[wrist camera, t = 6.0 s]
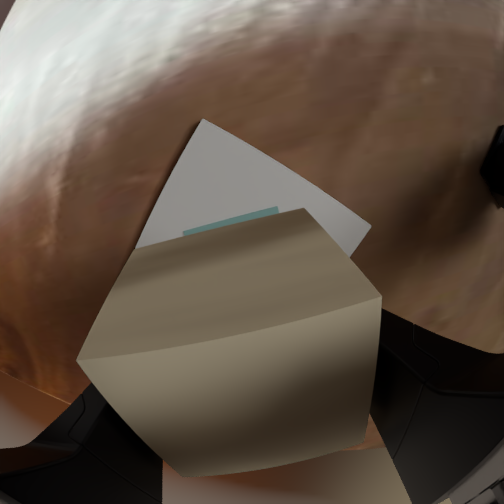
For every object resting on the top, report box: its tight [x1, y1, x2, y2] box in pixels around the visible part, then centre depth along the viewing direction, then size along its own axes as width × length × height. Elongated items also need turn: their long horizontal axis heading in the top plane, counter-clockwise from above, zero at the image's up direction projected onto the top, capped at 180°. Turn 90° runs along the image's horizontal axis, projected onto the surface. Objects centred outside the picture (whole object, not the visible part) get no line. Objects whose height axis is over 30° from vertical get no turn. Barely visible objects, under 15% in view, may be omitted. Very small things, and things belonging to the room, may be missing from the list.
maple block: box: [76, 208, 382, 477], centre depth 8 cm, size 6×6×5 cm
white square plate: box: [135, 119, 372, 258], centre depth 21 cm, size 14×14×1 cm
